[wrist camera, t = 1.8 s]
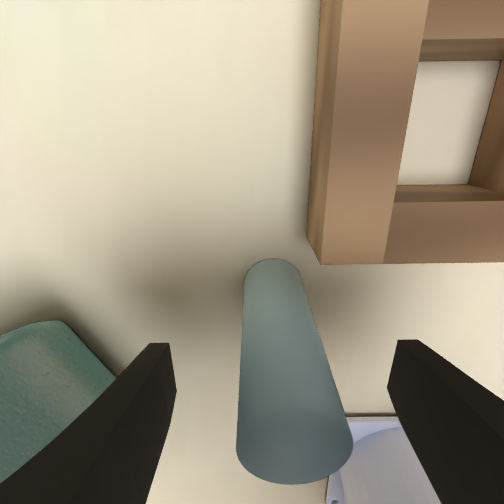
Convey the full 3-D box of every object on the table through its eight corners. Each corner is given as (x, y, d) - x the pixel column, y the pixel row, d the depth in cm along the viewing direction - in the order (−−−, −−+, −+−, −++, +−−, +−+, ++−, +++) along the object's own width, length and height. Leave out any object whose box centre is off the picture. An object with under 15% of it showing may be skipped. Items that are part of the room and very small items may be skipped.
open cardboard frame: (504, 233, 13) (570, 261, 11) (306, 236, 13) (320, 264, 11) (590, -21, 10) (722, -78, 7) (321, -16, 10) (349, -71, 7)
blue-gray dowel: (299, 308, 15) (346, 484, 8) (244, 308, 15) (238, 484, 8) (303, 258, 14) (360, 406, 6) (243, 259, 14) (233, 407, 6)
